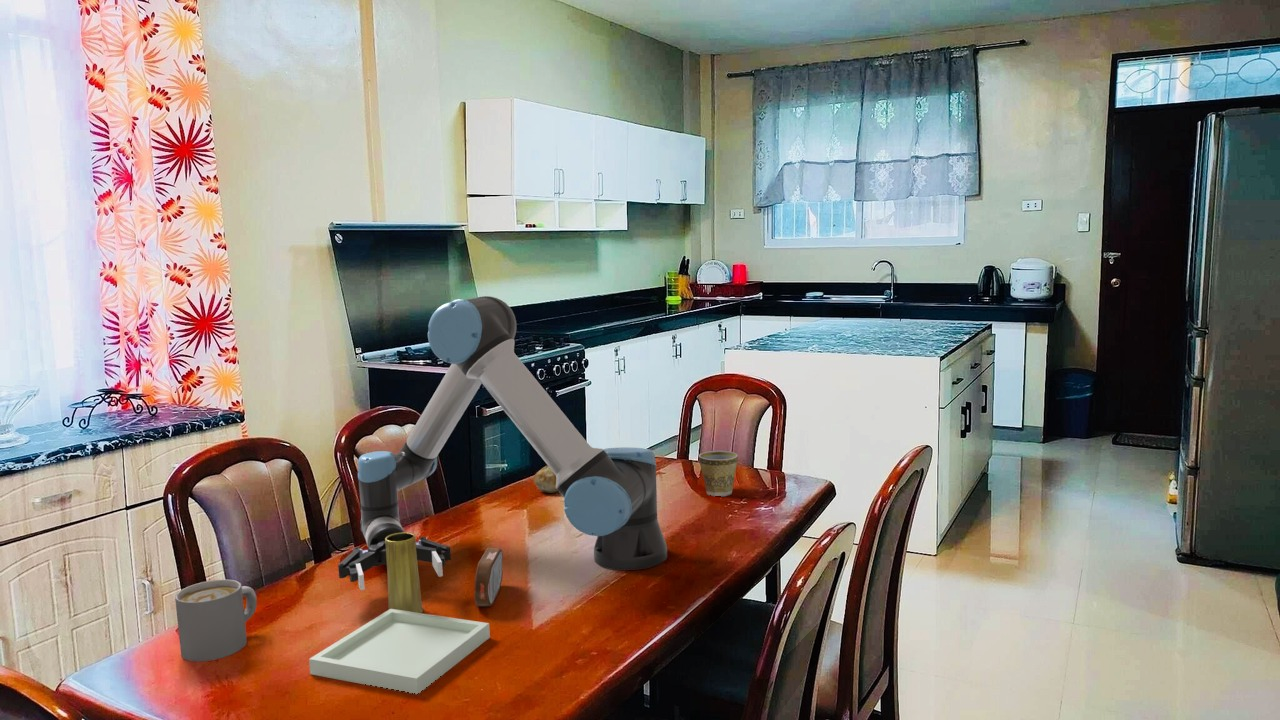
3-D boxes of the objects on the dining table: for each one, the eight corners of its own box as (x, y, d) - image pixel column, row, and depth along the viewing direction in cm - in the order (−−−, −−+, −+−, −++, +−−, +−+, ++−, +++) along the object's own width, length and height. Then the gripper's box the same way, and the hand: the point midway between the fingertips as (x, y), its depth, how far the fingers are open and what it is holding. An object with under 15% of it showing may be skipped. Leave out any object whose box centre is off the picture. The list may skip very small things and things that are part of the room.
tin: (490, 582, 174) (488, 541, 173) (506, 582, 174) (504, 540, 173) (473, 614, 159) (471, 569, 158) (491, 614, 159) (488, 568, 158)
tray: (489, 637, 149) (489, 623, 149) (417, 694, 131) (416, 678, 131) (391, 622, 157) (390, 608, 156) (310, 674, 138) (309, 658, 138)
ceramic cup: (740, 498, 225) (739, 459, 223) (700, 499, 225) (699, 460, 224) (735, 484, 238) (734, 447, 236) (698, 485, 238) (697, 448, 236)
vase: (429, 608, 162) (424, 532, 160) (410, 622, 157) (405, 543, 155) (401, 605, 164) (395, 530, 162) (381, 618, 159) (375, 541, 157)
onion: (538, 488, 241) (537, 459, 240) (567, 488, 240) (566, 459, 239) (531, 496, 233) (529, 466, 232) (561, 496, 232) (559, 466, 231)
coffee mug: (198, 667, 142) (191, 607, 141) (170, 651, 148) (164, 593, 147) (277, 637, 152) (272, 580, 151) (248, 623, 159) (243, 569, 157)
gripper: (450, 548, 183) (472, 583, 164) (322, 569, 174) (329, 609, 154) (448, 513, 182) (470, 544, 163) (319, 532, 173) (325, 567, 153)
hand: (401, 575), depth 158 cm, fingers open, 13 cm apart
